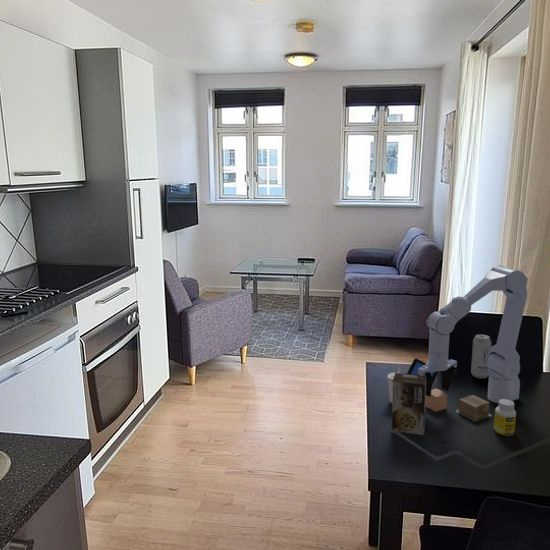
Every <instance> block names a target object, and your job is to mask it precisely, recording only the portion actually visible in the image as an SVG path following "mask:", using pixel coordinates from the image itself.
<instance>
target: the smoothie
mask: <svg viewBox="0 0 550 550" xmlns="http://www.w3.org/2000/svg"><path fill="white" fill-rule="evenodd" d="M397 371H398V372H397V373H402V372H401V362H399V363H398V370H397ZM395 373H396V372H390V373H388V374H387V376H386V380H387V381H388V391H389V392H388V393H389V400H390V401H389V402H390V403H391V404H392V399H393V378H394V375H395ZM402 374H404V373H402Z"/></svg>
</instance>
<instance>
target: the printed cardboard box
mask: <svg viewBox="0 0 550 550" xmlns="http://www.w3.org/2000/svg"><path fill="white" fill-rule="evenodd" d="M394 373H395V375H394V378H393V399H392V403H391V405H392V406H391V407H392V408H391V411H392V413H391V433H392V434H399V435H402V433H406V434H413V435H414V434H415V435H421V436H424V435H425V427H426V425H425V423H426V406H425V401H426V376H423V375H413V374H407V373H403V374H402V372H400V373H398V372H394Z"/></svg>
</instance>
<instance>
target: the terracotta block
mask: <svg viewBox="0 0 550 550" xmlns="http://www.w3.org/2000/svg"><path fill="white" fill-rule="evenodd" d="M447 401H448V393H446V392H445V391H444V390H443V391H442V390H440V389H438V388H433V389H432V391H431V396H426V401H425V408H428V409H430V410H431V411H433V412H436V413H437V412H440V411H443V410H446V409H447V406H448V405H447V403H448V402H447Z"/></svg>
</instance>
